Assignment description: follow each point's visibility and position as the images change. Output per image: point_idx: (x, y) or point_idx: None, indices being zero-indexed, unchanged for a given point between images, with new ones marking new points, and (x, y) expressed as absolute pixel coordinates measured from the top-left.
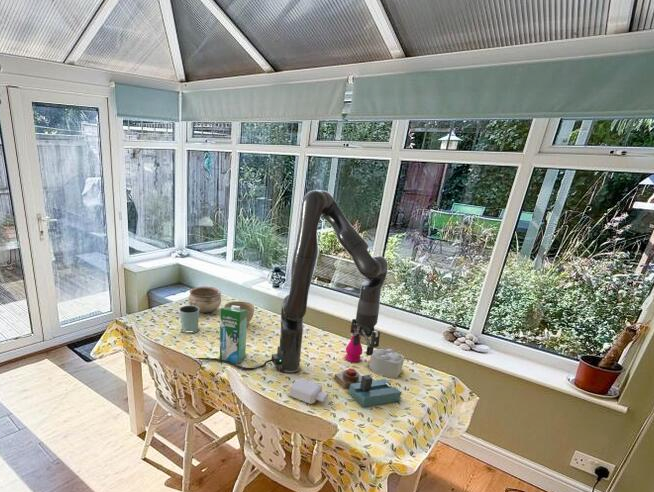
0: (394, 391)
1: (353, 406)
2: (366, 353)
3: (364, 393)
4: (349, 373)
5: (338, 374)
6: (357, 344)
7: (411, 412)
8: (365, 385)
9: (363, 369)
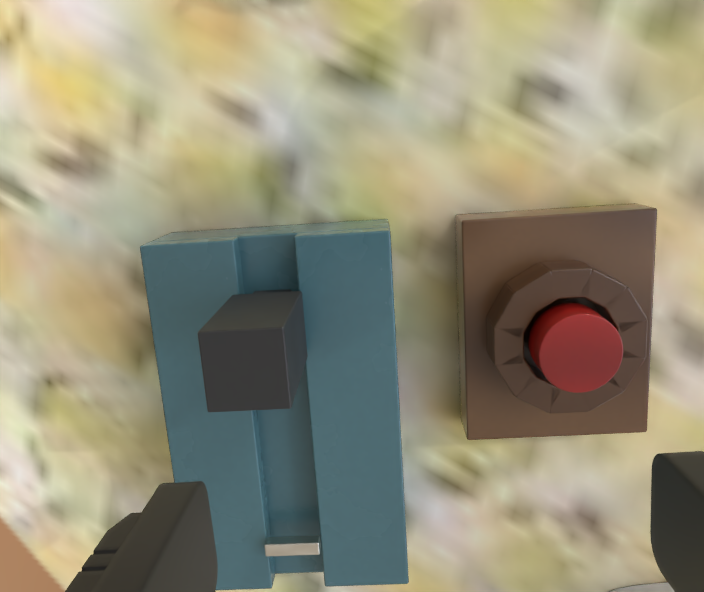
0: None
1: (188, 156)
2: (178, 495)
3: (209, 282)
4: (555, 314)
5: (636, 238)
6: (661, 541)
7: (70, 532)
8: (218, 313)
9: None
